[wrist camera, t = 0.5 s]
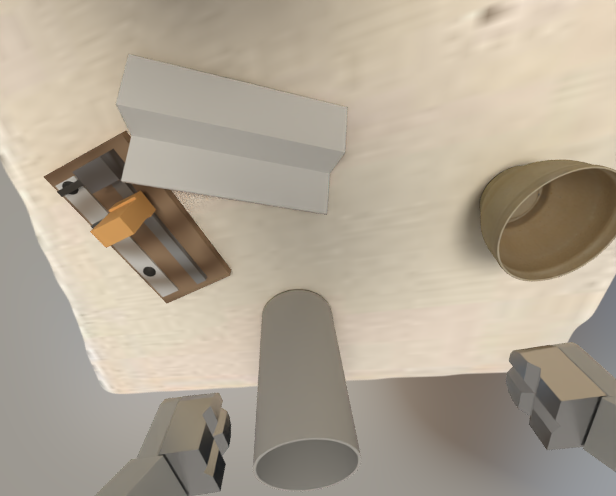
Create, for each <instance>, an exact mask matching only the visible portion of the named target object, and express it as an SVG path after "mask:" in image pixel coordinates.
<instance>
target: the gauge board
mask: <svg viewBox="0 0 616 496" xmlns="http://www.w3.org/2000/svg"><path fill="white" fill-rule="evenodd" d="M130 140H131V137H130V136H129V134H128V133H127V132H126V131H125V132H123V133H121V134H119V135H117V136H116V137H114V138H112V139H110V140H108V141H107V142H105V143H103V144H101V145H99V146H98V147H96V148H94V149H92V150H91V151H89V152H87V153H85V154H83V155H82V156H80V157H78V158H76V159H74V160H73V161H71V162H69V163H67V164H66V165H64V166H62V167H60V168H58V169H57V170H55V171H53V172H51V173H50V174H48V175H46V176H44V178H45V179H46V180H47V181H48V182H49V183H50V184H51V185H52V186H53V187H54V188H55V189H56V190H57V192H58V193H59V194H60V195H61V196H62V197H64V198H65V199H66V200H67V201H68V202H69V203H70V204H71V206H72V207H73V208H74V209H75V210H76V211H77V212H78V213H79V214H80V215H81V216H82V217H83V218H84V219H85V220H86V221H87V222H88V223H89V224H90V225H91V226H92V225H93V224H94V223H96V222H98V221H100V220H102V219H104V218H105V217H106V216H107V215H108V214H109V213H110V212H109V209H110V208H111V207H112V206H113V205H114V204H116V203H117V202H119V201H121V200H123V199H125V198H127V197H129V196H131V195H133V194H135V193H137V192H139V191H141V192H142V193H143V194H144V195H145V197H146V198H147V199H148V200H149V202H150V203H151V204H152V205H153V206H154V208H155V209H156V210H155V212H154V213H153V214H152V216H151V217H149V218H147V219H146V220H145V221H144V222H143V223H142V225H141V226H140V227H139V229H138V230H137V231H136V233H135V234H133V235H131V236H129V237H127V238H125V239H123V240H121V241H119V242H117V243H115V244H113V245H111V247H112V248H113V249H114V250H115V251H116V252H117V253H118V254H119V255H120V256H121V257H122V258H123V259H124V260H125V261H126V262H127V263H128V264H129V265H130V266H131V267H132V268H133V269H134V270H135V271H136V272H137V273H138V274H139V275H140V276H141V277H142V278H143V279H144V280H145V282H146V283H147V284H148V285H149V286H150V287H151V288H152V289H153V290H154V291H155V292H156V293H157V294H158V295H159V296H160V297H161V298H162V299H163V300H164V301H165V302H166V303H169V302H171V301H173V300H176V299H178V298H180V297H182V296H185V295H187V294H189V293H191V292H194V291H196V290H198V289H201V288H203V287H205V286H207V285H210V284H212V283H214V282H216V281H219V280H221V279H223V278H225V277H228V276H230V273H231V269H230V268H229V266H228V265H227V264H226V262H225V261H224V260H223V258H222V257H221V256H220V254H219V253H218V252H217V250H216V249H215V248H214V246H213V245H212V244H211V243H210V241H209V240H208V239H207V237H206V236H205V235H204V233H203V232H202V231H201V229H200V228H199V227H198V225H197V224H196V223H195V221H194V220H193V219H192V217H191V216H190V215H189V213H188V212H187V211H186V209H185V208H184V207H183V206H182V204H181V203H180V202H179V200H178V199H177V198H176V196H175V195H174V194H173V192H172V191H171V190H169V189H163V188H157V187H151V186H144V185H138V184H132V183H126V182H122V181H121V179H122V175H123V170H124V166H125V162H126V157H127V153H128V149H129V144H130Z"/></svg>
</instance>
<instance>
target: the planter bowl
mask: <svg viewBox="0 0 616 496" xmlns="http://www.w3.org/2000/svg"><path fill="white" fill-rule="evenodd" d="M480 212H481V216H480V223H481V231H482V235H483V238H484V241H485V243H486V245H487V247H488V249H489V250H490V252H491V253H492V255H493V256H494V257H495V258H496V260H497V262H498V263H499V265H500V266H501V267H502V269H503V270H504V271H505V272H506V273H507V274H509V275H510V276H512V277H514V278H516V279H519V280H523V281H543V280H549V279H553V278H557V277H560V276H563V275H566V274H568V273H570V272H573V271H575V270H577V269H578V268H580V267H582V266H584V265H585V264H587V263H588V262H590V261H591V260H593V259H594V258H595V257H597V256H598V255H599V254H600V253H601V252H602V251H603V250H604V249H606V248H607V247H608V246H609V245H610V243H611V242H612V241H613V240H614V239H615V238H616V170H614V169H611V168H608V167H604V166H600V165H592V164H588V163H584V162H579V161H573V160H547V161H540V162H535V163H531V164H527V165H524V166H516V167H512V168H509V169H507V170H505V171H503V172H502V173H500V174H499V175H497V176H496V177H495V178H494V179H493V180H492V181H491V182H490V183H489V184H488V185H487V187H486V188H485V190H484V192H483V194H482V196H481V199H480Z"/></svg>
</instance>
